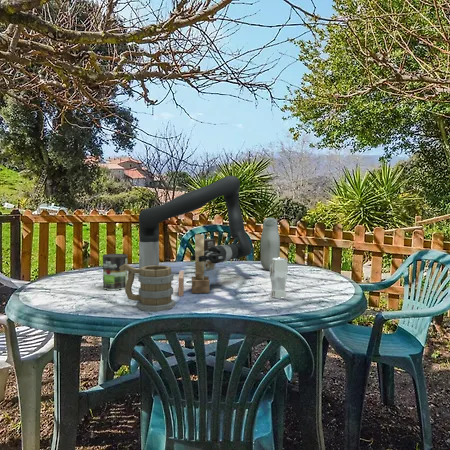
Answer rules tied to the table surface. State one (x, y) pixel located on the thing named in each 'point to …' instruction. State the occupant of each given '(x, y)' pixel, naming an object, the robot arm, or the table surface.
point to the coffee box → (207, 245)
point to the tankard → (151, 287)
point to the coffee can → (114, 271)
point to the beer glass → (278, 276)
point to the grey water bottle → (269, 242)
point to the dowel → (198, 252)
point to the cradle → (200, 285)
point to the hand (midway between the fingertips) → (195, 258)
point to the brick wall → (181, 283)
